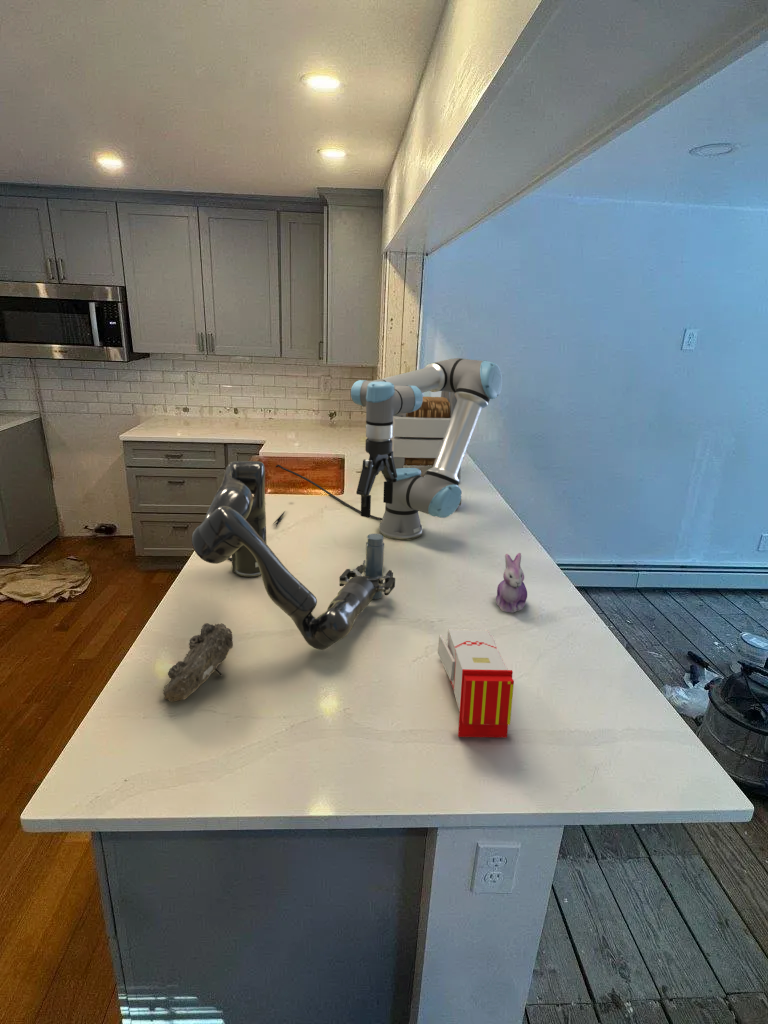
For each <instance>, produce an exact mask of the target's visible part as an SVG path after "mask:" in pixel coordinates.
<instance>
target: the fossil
mask: <svg viewBox="0 0 768 1024" xmlns="http://www.w3.org/2000/svg"><path fill="white" fill-rule="evenodd" d="M233 638H234V637H233V631H232V630H231V628H229V627H227V626H226V625H225V624H224V623H221V622H220V623H217V624H216V623H215V624H212V623H211V624H210V623H207V622H206V623H203V625H202V626H201V628H200V633H199V634H195V635H192V637H191V638H190V639H189V643H188V645H189V646H188V649H189V650H188V652H187V653H186V654H185V656H184V658H183V661H182V660H179V661H177V662H176V663H175V664H173V665H171V667H170V668H169V669H168V671H167V676H168V677H169V679H170V680H169V681H168V682H167V683H166V684H165V685H164V686H163V688H164V689H163V690H162V691H163V693H162V694H163V697H164V698H163V699H164V700H168V701H169V702H171V703H173V702H176V701H177V702H178V701H182V700H183V701H184V700H186V699H187V698H188V697H189V696H191V694H192V693H194V692H195V691H197V690H198V688H200V687H201V686H202V685H203V684H204V683H205V682H206V681H208V679H209V678H210V676H211V674H212V673H214V672H216V673H217V674H218V675H219V676H223V673H222V672H221V671H220V670H219V669H218V666H219V664H222V663H223V662H224V661H225V660H226V658H227V656H228V654H229V652H230V650H231V649H232V648H233V647H234V641H233Z"/></svg>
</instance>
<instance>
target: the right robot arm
mask: <svg viewBox="0 0 768 1024" xmlns="http://www.w3.org/2000/svg"><path fill="white" fill-rule="evenodd" d="M502 387H503V374H502V371H501V367H500V366H499V365H498V364H497V363H496V362H493V361H488V360H480V359H479V360H478V359H470V358H460V357H457V358H448V359H443V360H440V361H435V362H432V363H428V364H426V365H425V366H424V368H419V369H416V370H412V371H407V372H404V373H400V374H395V375H391V376H387V377H384V378H379V379H374V380H366V379H364V380H363V379H358V380H356V381H355V382H354V383H353V384H352V386H351V387H350V388H351V389H350V398H351V400H352V402H353V403H354V404H355V405H359V406H361V407H365V426H364V427H365V437H366V439H365V450H364V451H365V452H366V453H367V454H368V456H369V457H368V459H363V460H362V468H361V471H360V476H359V479H358V484H357V488H356V493H355V494H356V495H359V496H360V509H358V508H356V507H354V506H353V505H351V504H349V503H347V502H346V501H343V500H342V499H341V498H339V497H337V496H336V495H334V494H333V493H331V491H328V490H327V489H325V488H324V487H322V486H320V485H319V484H318V483H316V482H314V481H312V480H311V479H309V478H307V477H305V476H303V475H301V474H300V473H297V472H295V471H292V470H290V469H288V468H285V467H284V466H282V465H280V464H276V465H275V468H280V469H282V470H284V471H286V472H288V473H291V474H293V475H294V476H296V477H298V478H301V479H303V480H304V481H306V482H307V483H309V484H311V485H313V486H315V487H316V488H318V489H320V490H321V491H322V492H325V493H326V494H327V495H329V496H330V497H332V498H333V499H334V500H336V501H338V502H340V503H341V504H342V505H344V506H346V507H348V508H349V509H351V510H352V511H355V512H357V513H359V514H360V517H364V518H370V519H373V520H377V521H381V522H379V526H378V533H379V534H381V535H383V538H387V539H389V540H395V541H410V540H415V539H418V538H420V537H421V536H422V535H423V525H422V524H421V518H420V515H419V512H420V513H423V514H426V515H429V516H431V517H437V518H441V519H445V518H448V517H450V516H451V515H453V514H454V513H455V512H456V511H457V509H458V507H459V504H460V501H461V502H462V489H461V487H460V486H459V485H460V482H459V480H458V477H457V475H458V472H459V469H460V466H461V467H462V463H463V460H464V458H465V455H466V452H467V451H468V447H469V445H470V442H471V438H472V436H473V433H474V431H475V428H476V426H477V422H478V419H479V417H480V414H481V411H482V410H483V409H484V408H486V407H488V405H489V403H490V400H495V399H497V397H498V396H499V395H500V394H501V391H502ZM442 391H447V392H453V393H455V397H456V399H457V402H456V405H455V408H454V410H453V413H452V416H451V419H450V421H449V424H448V427H447V429H446V432H445V435H444V438H443V440H442V443H441V446H440V449H439V451H438V454H437V457H436V459H435V462H434V465H433V466H431V467H430V468H428V469H427V470H426V471H425V473H424V476H423V475H422V470H421V469H420V468H416V467H404V468H398V469H396V468H395V463H394V459H393V451H392V440H391V438H392V437H393V415H397V414H403V413H410V412H413V411H416V410H418V409H419V408H420V407H421V405H422V402H423V397H424V396H423V393H426V392H430V393H437V392H442ZM380 472H381V474H382V476H383V478H384V480H385V481H383V498H382V499H383V501H382V502H383V503H384V505H385V507H384V508H385V509H384V513H383V515H382V517H378V516H376V515H372V514H371V509H372V495H371V494H370V493H371V491H372V489H373V485H374V482H375V480H376V478H377V476H378V475H379V474H380Z"/></svg>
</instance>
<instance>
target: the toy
mask: <svg viewBox="0 0 768 1024" xmlns="http://www.w3.org/2000/svg"><path fill="white" fill-rule="evenodd" d="M446 640H447V643H446V641H445V639H444V636H443V635H442V634H439V637H438V646H437V656H438V657H439V659H440V661H441V663H442V666H443V668H444V670H445V672H446V674H447V677H448V679H449V681H450V684H451V687H452V690H453V693H454V697H455V701H456V705H457V708H458V711H459V714H458V715H459V716H458V730H457V731H458V732H457V737H458V738H508V731H509V726H510V725H511V717H512V707H513V697H514V696H513V695H514V684H515V680H514V679H513V673H514V671H513V670H512V669H508V667H507V665H506V662H505V661H504V659H503V658H502V655H501V653H500V651H499V649H498V647H497V643H496V639H495V637H494V635H493V634H491V632H490V631H489V629H467V628H466V629H465V628H463V629H461V628H460V629H459V628H448V630H447V639H446Z"/></svg>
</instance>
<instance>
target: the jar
mask: <svg viewBox="0 0 768 1024" xmlns="http://www.w3.org/2000/svg"><path fill="white" fill-rule="evenodd" d="M384 559H385V543H384V536H383V535H381V534H380V533H369V534H368V535H366V542H365V559H364V560H365V571H364V576H367V577H376V576H381V577H382V576H384V562H385V561H384ZM377 582H378V580H377ZM382 597H383V592H381V591H379V592H377V593H375V595H374V597H373V598H372V600H379V599H381V598H382Z"/></svg>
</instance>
